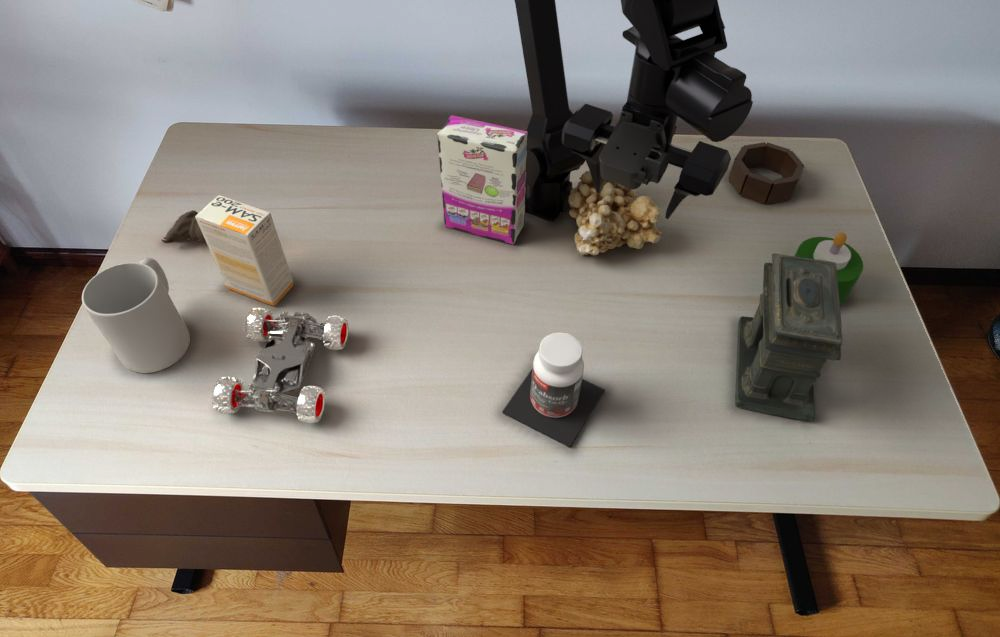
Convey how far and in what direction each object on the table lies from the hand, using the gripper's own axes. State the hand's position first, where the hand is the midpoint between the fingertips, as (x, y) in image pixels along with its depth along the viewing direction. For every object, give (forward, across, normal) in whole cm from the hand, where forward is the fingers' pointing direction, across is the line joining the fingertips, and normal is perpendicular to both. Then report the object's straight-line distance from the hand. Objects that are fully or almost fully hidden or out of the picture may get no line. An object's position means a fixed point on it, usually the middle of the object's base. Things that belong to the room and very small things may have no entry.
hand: (633, 204), depth 86 cm
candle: (+13, +24, +12) cm, 30 cm away
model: (+13, +23, -5) cm, 27 cm away
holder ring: (+13, +11, +30) cm, 34 cm away
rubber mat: (+13, +2, -23) cm, 26 cm away
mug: (+13, -46, -40) cm, 62 cm away
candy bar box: (+13, -21, -1) cm, 25 cm away
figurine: (+13, -54, -24) cm, 61 cm away
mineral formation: (+13, -6, +8) cm, 16 cm away
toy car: (+13, -28, -36) cm, 47 cm away
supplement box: (+13, -41, -27) cm, 51 cm away
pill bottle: (+13, +2, -23) cm, 26 cm away
